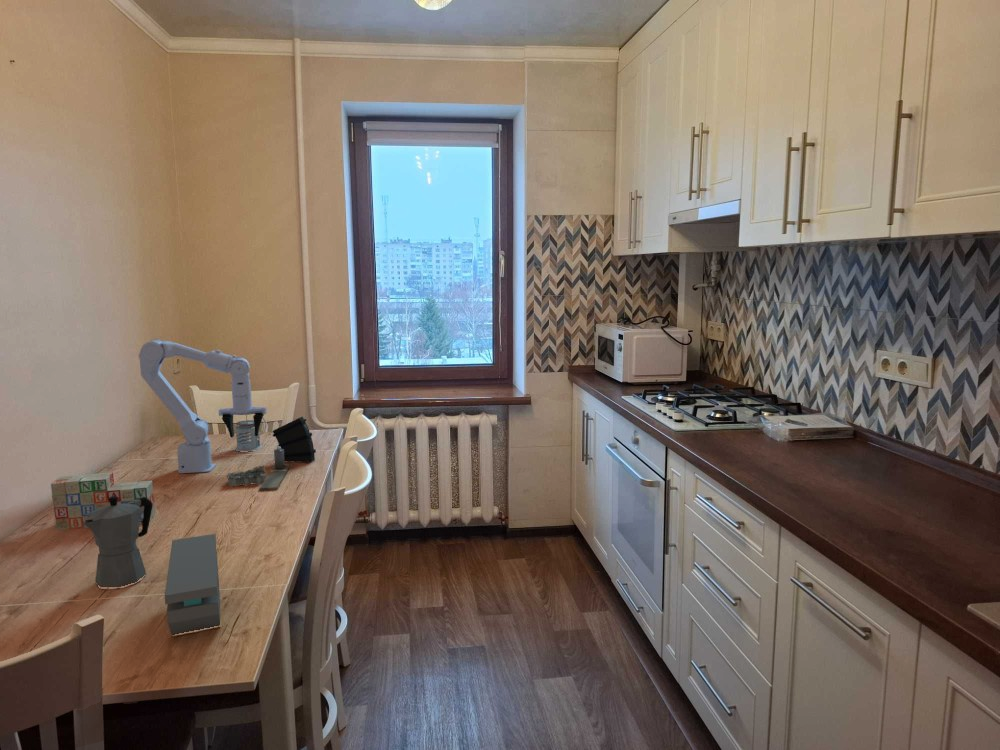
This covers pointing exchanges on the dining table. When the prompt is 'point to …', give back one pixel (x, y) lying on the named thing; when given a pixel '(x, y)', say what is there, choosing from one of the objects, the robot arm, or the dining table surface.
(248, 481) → the egg carton
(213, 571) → the grey slotted box
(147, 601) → the dining table surface
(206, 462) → the robot arm
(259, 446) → the french press
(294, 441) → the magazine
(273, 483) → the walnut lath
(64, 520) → the stack of blocks
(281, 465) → the awl peg
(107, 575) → the coffeepot
